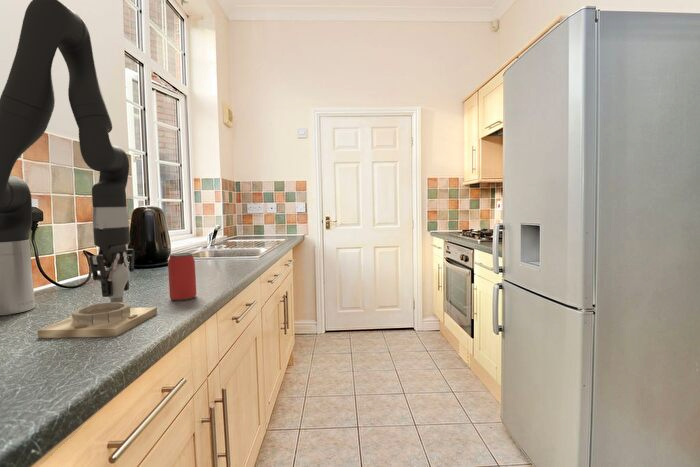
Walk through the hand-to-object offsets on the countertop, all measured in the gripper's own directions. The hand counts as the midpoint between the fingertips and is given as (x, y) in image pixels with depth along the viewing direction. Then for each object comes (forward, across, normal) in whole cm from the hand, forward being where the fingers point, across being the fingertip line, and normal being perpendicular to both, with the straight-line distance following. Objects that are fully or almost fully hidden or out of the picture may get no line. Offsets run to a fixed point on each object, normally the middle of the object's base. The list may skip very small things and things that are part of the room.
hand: (116, 293), depth 92 cm
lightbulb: (+4, 0, 0) cm, 4 cm away
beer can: (+4, -8, +13) cm, 16 cm away
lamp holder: (+4, +14, +6) cm, 16 cm away
